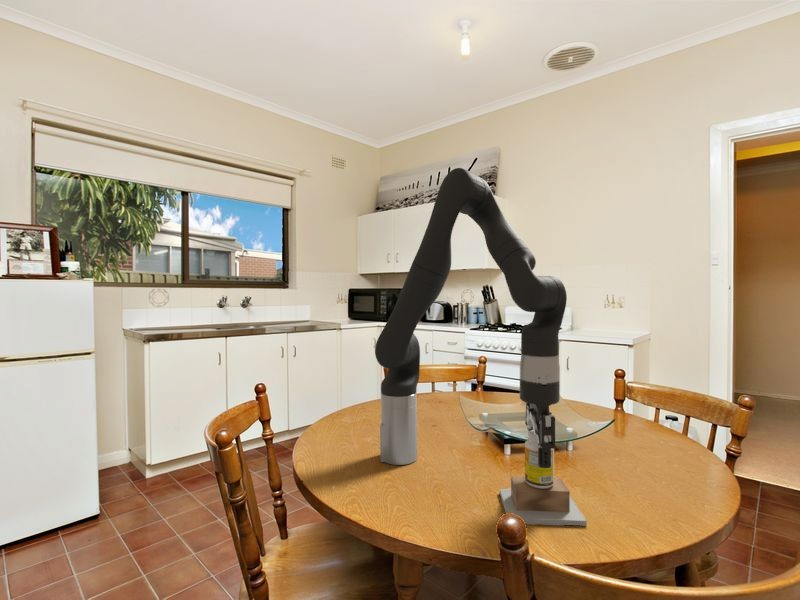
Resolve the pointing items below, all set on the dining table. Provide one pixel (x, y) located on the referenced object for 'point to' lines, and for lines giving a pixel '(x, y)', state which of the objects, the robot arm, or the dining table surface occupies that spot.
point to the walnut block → (540, 496)
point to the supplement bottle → (532, 470)
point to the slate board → (544, 513)
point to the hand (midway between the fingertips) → (539, 458)
